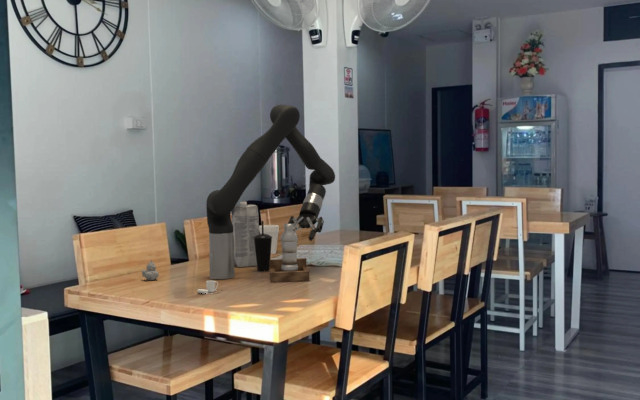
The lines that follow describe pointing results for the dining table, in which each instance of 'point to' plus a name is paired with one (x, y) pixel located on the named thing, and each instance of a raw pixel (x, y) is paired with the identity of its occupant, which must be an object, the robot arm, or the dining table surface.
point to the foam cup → (273, 232)
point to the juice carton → (245, 234)
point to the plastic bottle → (289, 248)
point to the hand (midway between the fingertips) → (299, 239)
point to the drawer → (288, 275)
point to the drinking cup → (263, 250)
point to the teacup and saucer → (208, 287)
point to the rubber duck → (150, 272)
